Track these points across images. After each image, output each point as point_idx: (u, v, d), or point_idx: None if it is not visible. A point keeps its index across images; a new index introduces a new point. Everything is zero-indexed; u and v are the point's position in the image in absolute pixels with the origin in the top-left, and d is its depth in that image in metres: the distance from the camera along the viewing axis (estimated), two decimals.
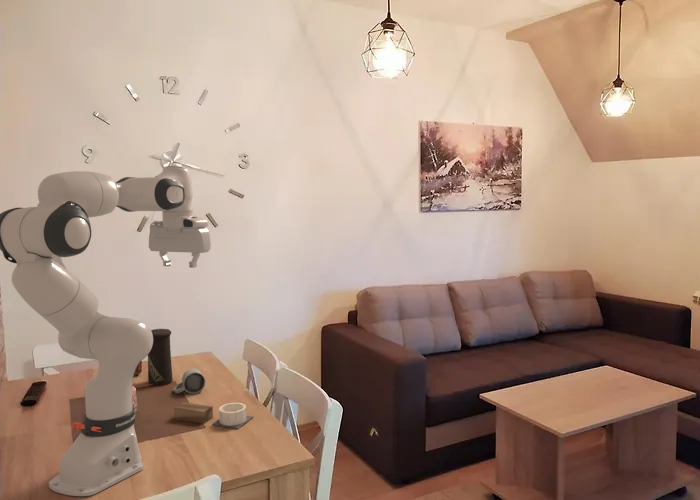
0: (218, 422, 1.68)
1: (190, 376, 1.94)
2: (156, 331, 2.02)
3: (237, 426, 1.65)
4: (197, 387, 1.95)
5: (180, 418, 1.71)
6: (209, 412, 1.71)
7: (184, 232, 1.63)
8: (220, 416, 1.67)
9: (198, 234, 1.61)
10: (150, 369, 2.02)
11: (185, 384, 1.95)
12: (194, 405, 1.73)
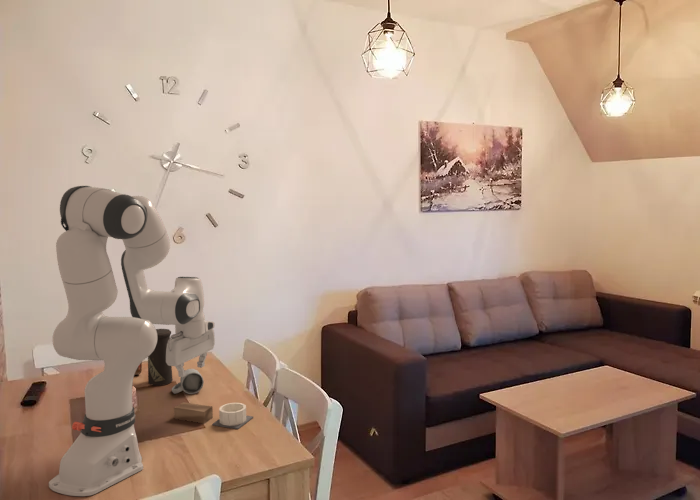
0: (218, 422, 1.68)
1: (188, 376, 1.94)
2: None
3: (237, 426, 1.65)
4: (195, 387, 1.95)
5: (180, 418, 1.71)
6: (209, 412, 1.71)
7: (203, 335, 1.73)
8: (220, 416, 1.67)
9: (213, 333, 1.77)
10: (150, 369, 2.02)
11: (183, 384, 1.94)
12: (194, 405, 1.73)
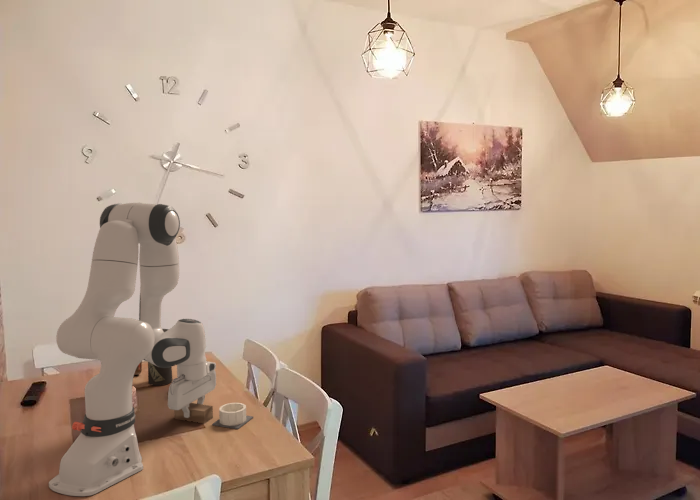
0: (218, 422, 1.68)
1: None
2: None
3: (237, 426, 1.65)
4: None
5: (180, 417, 1.71)
6: (209, 412, 1.71)
7: (205, 377, 1.74)
8: (220, 416, 1.67)
9: (215, 373, 1.78)
10: (150, 369, 2.02)
11: None
12: (194, 404, 1.73)
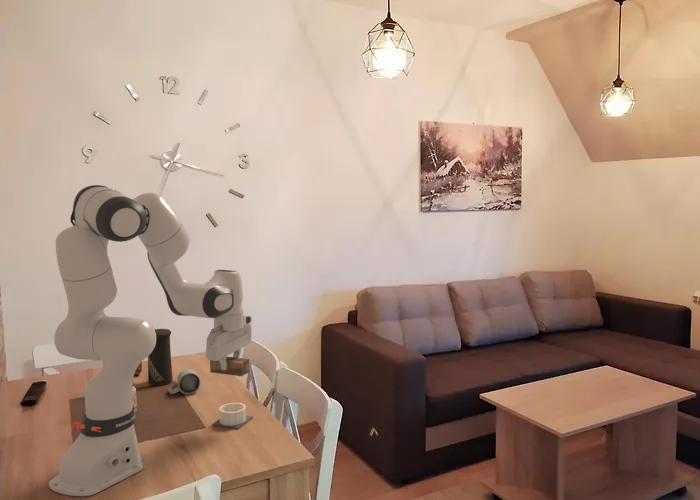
0: (218, 422, 1.68)
1: (185, 377, 1.93)
2: (156, 331, 2.02)
3: (237, 426, 1.65)
4: (192, 388, 1.95)
5: (216, 370, 1.67)
6: (246, 364, 1.67)
7: (241, 330, 1.70)
8: (220, 416, 1.67)
9: (250, 327, 1.74)
10: (150, 369, 2.02)
11: (180, 385, 1.94)
12: (230, 358, 1.69)
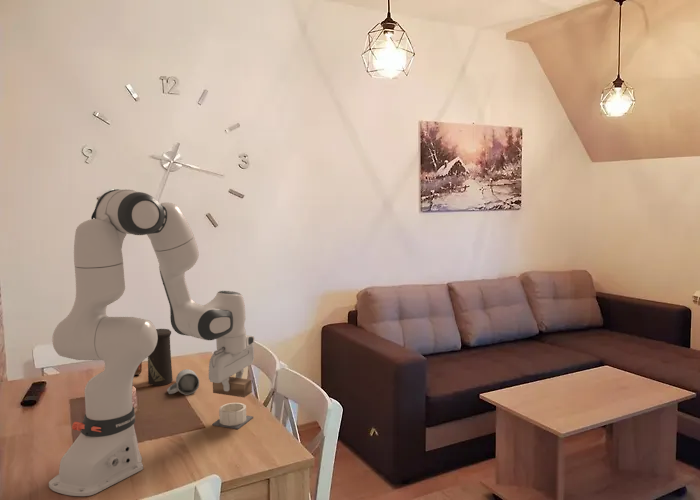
0: (218, 422, 1.68)
1: (184, 377, 1.93)
2: None
3: (237, 426, 1.65)
4: (191, 388, 1.94)
5: (219, 391, 1.68)
6: (248, 385, 1.67)
7: (244, 350, 1.70)
8: (220, 416, 1.67)
9: (253, 347, 1.75)
10: (150, 369, 2.02)
11: (179, 385, 1.94)
12: (233, 378, 1.70)
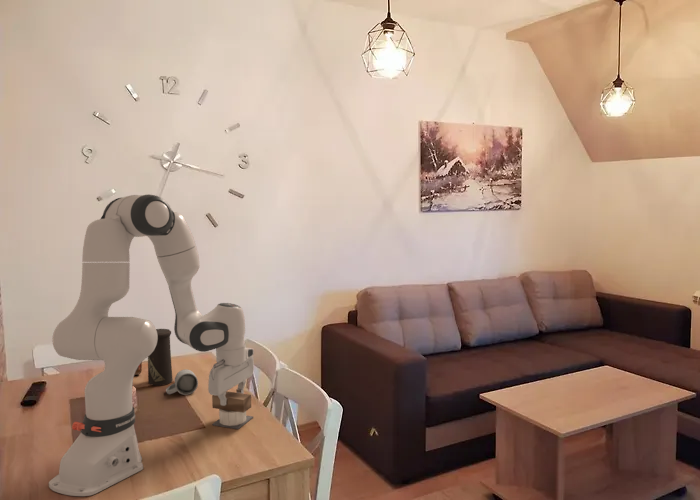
0: (218, 422, 1.68)
1: (183, 377, 1.93)
2: None
3: (237, 426, 1.65)
4: (190, 388, 1.94)
5: (218, 406, 1.68)
6: (248, 400, 1.68)
7: (244, 363, 1.71)
8: (220, 416, 1.67)
9: (252, 360, 1.75)
10: (150, 369, 2.02)
11: (178, 385, 1.94)
12: (232, 393, 1.70)
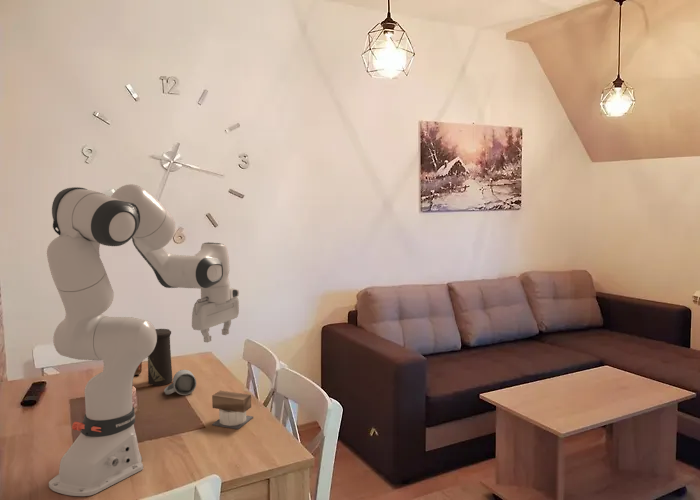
0: (218, 422, 1.68)
1: (181, 377, 1.93)
2: (156, 331, 2.02)
3: (237, 426, 1.65)
4: (188, 388, 1.94)
5: (218, 406, 1.68)
6: (248, 400, 1.68)
7: (228, 302, 1.73)
8: (220, 416, 1.67)
9: (238, 301, 1.78)
10: (150, 369, 2.02)
11: (176, 385, 1.94)
12: (232, 393, 1.70)
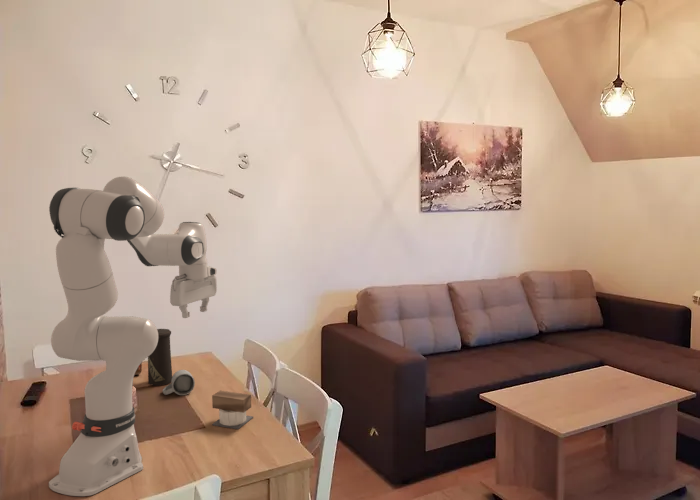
0: (218, 422, 1.68)
1: (179, 377, 1.93)
2: None
3: (237, 426, 1.65)
4: (186, 388, 1.94)
5: (218, 406, 1.68)
6: (248, 400, 1.68)
7: (206, 280, 1.80)
8: (220, 416, 1.67)
9: (215, 279, 1.84)
10: (150, 369, 2.02)
11: (174, 385, 1.93)
12: (232, 393, 1.70)
